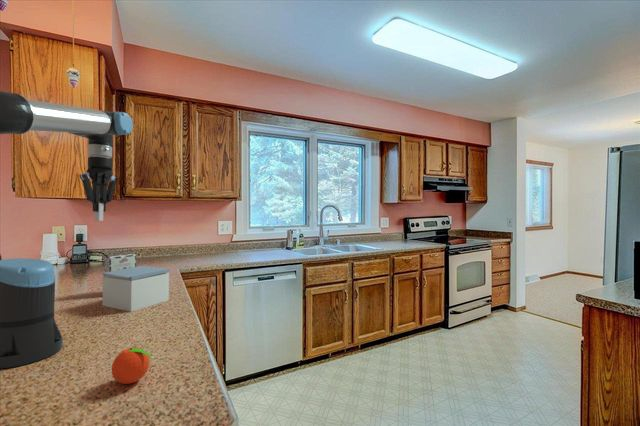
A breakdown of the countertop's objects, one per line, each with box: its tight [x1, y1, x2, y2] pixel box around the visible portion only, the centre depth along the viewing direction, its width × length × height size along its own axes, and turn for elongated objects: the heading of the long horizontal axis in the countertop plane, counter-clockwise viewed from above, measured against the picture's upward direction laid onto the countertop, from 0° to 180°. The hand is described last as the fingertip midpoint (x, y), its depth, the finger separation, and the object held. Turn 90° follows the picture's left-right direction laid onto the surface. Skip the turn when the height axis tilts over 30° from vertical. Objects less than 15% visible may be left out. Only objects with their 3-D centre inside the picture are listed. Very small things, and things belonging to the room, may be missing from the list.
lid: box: [102, 265, 170, 280], centre depth 124 cm, size 17×16×1 cm
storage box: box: [102, 272, 170, 312], centre depth 124 cm, size 16×16×11 cm
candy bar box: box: [103, 253, 137, 273], centre depth 138 cm, size 11×5×16 cm, turn 150°
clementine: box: [111, 347, 153, 385], centre depth 67 cm, size 8×7×7 cm
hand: (98, 220), depth 119 cm, fingers closed
